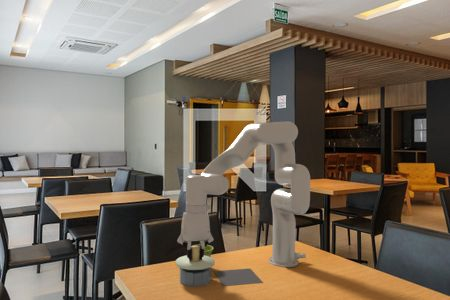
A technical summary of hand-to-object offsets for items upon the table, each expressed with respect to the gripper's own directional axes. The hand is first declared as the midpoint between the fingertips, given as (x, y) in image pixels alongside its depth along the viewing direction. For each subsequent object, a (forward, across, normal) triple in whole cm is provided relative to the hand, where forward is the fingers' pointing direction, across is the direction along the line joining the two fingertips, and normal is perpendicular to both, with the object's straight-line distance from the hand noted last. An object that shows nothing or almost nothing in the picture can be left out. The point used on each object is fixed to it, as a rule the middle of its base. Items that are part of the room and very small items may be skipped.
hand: (195, 258), depth 130 cm
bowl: (+8, 0, 0) cm, 8 cm away
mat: (+8, -16, 0) cm, 18 cm away
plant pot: (+9, -5, -12) cm, 16 cm away
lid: (+2, 0, 0) cm, 2 cm away
